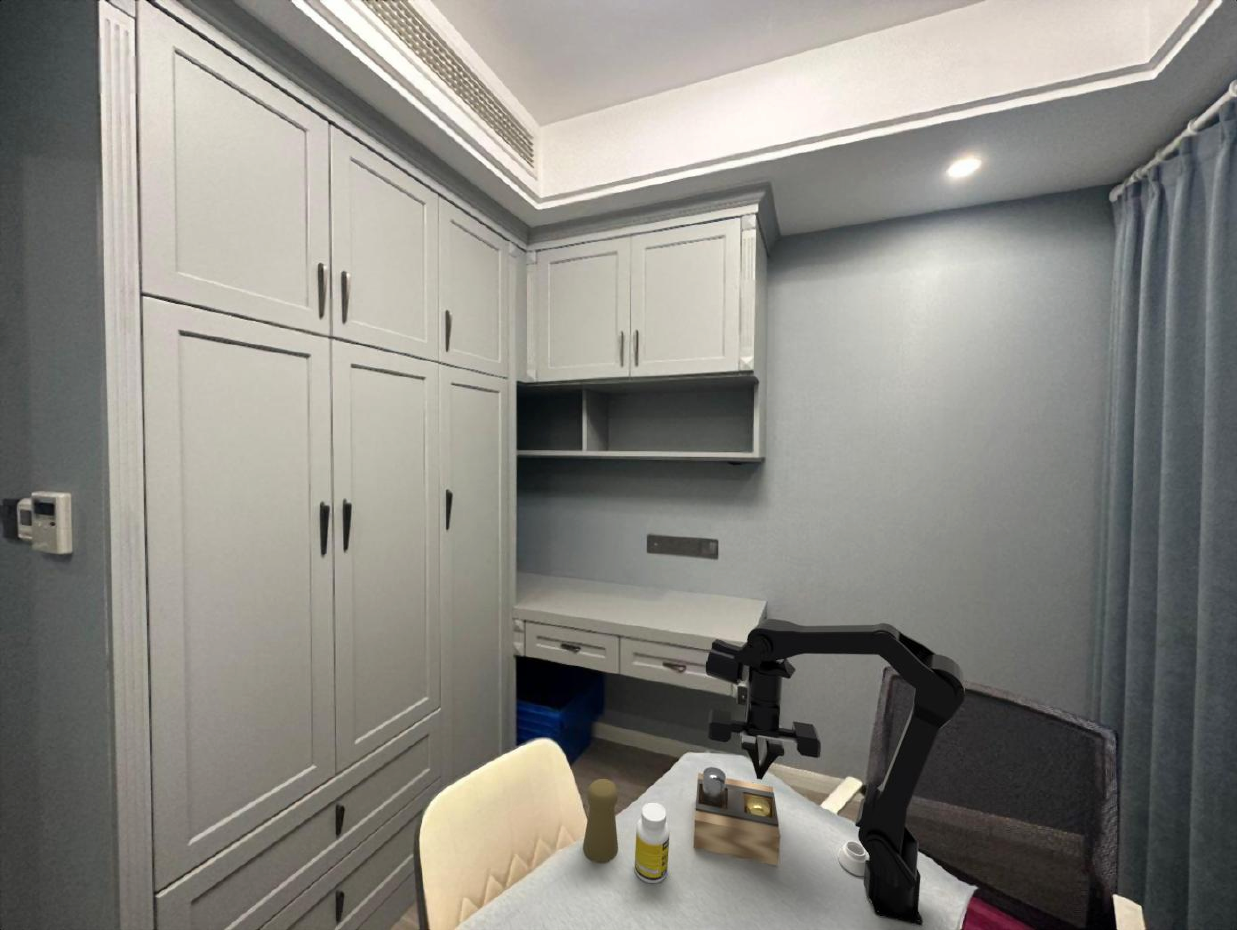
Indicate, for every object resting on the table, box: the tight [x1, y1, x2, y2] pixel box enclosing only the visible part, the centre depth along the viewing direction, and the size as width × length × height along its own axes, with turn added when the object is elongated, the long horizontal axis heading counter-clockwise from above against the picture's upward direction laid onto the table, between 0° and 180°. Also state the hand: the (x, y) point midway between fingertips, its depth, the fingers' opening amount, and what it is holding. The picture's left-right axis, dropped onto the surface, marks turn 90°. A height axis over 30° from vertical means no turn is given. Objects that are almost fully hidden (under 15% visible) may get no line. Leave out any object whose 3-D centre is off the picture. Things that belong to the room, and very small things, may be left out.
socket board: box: [693, 772, 781, 867], centre depth 86 cm, size 14×12×5 cm
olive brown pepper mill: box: [582, 778, 619, 864], centre depth 81 cm, size 6×6×11 cm
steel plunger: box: [702, 766, 727, 808], centre depth 87 cm, size 4×4×5 cm
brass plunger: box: [747, 797, 770, 817], centre depth 85 cm, size 4×4×5 cm
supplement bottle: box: [634, 802, 671, 884], centre depth 77 cm, size 5×5×10 cm
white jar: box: [837, 840, 869, 877], centre depth 80 cm, size 5×3×5 cm
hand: (759, 777), depth 85 cm, fingers closed
